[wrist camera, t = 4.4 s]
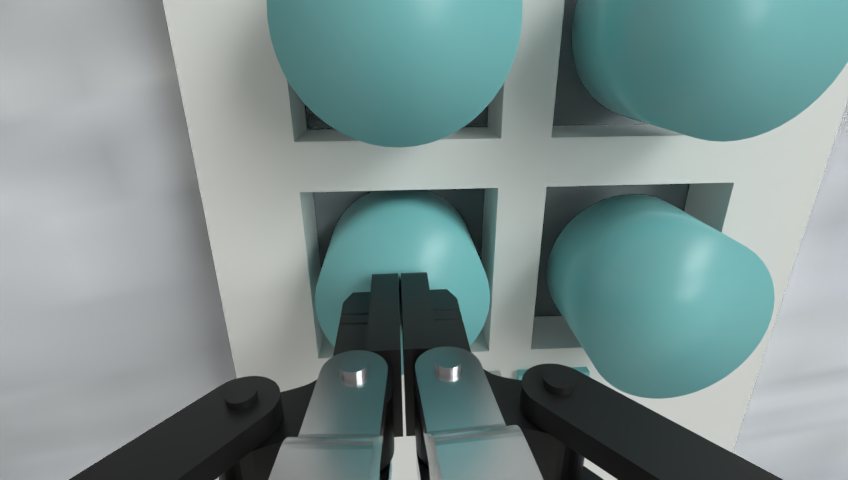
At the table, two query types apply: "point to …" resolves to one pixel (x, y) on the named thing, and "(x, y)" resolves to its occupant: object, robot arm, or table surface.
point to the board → (462, 169)
